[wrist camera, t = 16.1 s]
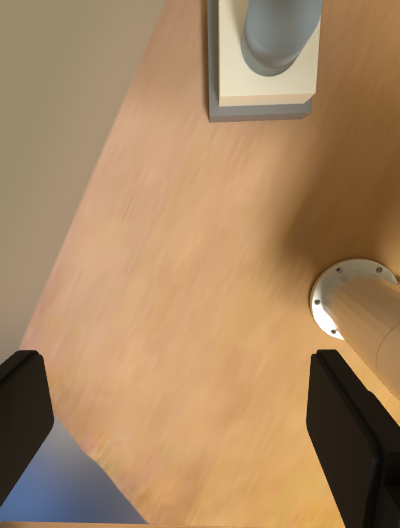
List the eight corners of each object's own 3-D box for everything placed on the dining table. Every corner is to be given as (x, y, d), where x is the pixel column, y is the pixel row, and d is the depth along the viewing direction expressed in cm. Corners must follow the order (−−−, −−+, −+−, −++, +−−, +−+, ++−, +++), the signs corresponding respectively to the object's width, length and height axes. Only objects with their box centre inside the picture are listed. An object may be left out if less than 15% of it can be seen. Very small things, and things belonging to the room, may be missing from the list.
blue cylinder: (302, 6, 29) (325, -39, 23) (299, 75, 30) (319, 48, 25) (241, 10, 29) (248, -35, 23) (240, 78, 31) (247, 52, 25)
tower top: (309, 2, 32) (323, -23, 28) (303, 103, 35) (315, 93, 31) (218, 6, 33) (219, -18, 29) (218, 106, 35) (219, 96, 31)
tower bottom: (306, 12, 36) (317, -10, 32) (300, 119, 39) (310, 112, 35) (207, 17, 36) (207, -3, 32) (209, 123, 39) (209, 116, 35)
